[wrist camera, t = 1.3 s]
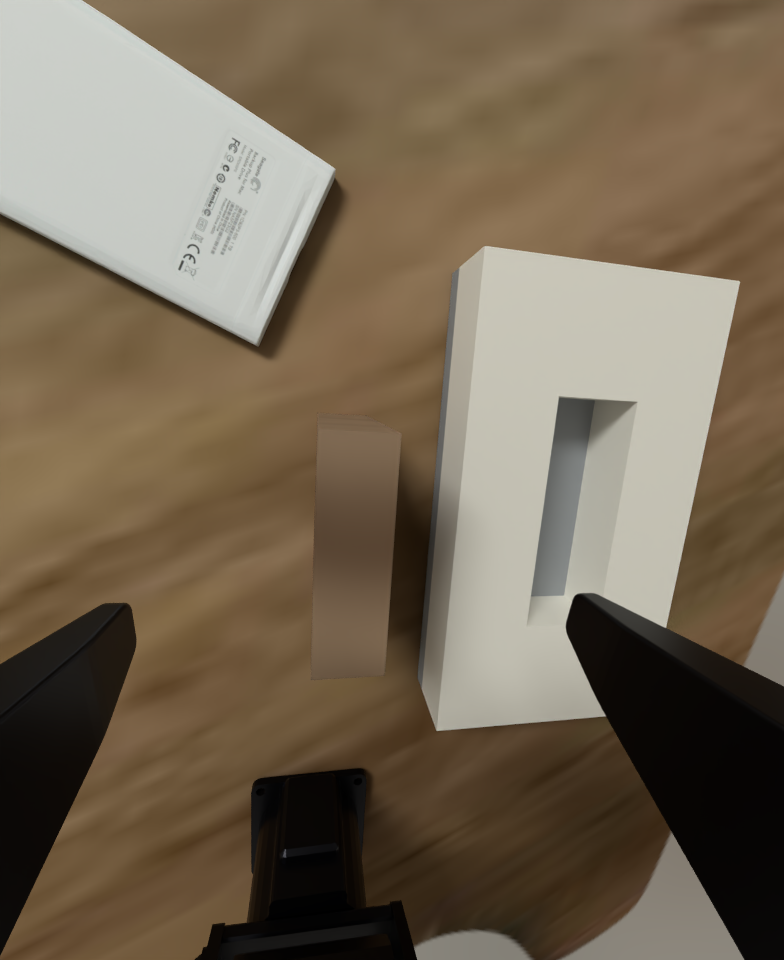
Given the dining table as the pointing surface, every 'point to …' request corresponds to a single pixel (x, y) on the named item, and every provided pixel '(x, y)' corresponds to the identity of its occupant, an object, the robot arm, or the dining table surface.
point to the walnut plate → (353, 545)
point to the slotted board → (559, 470)
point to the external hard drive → (149, 166)
